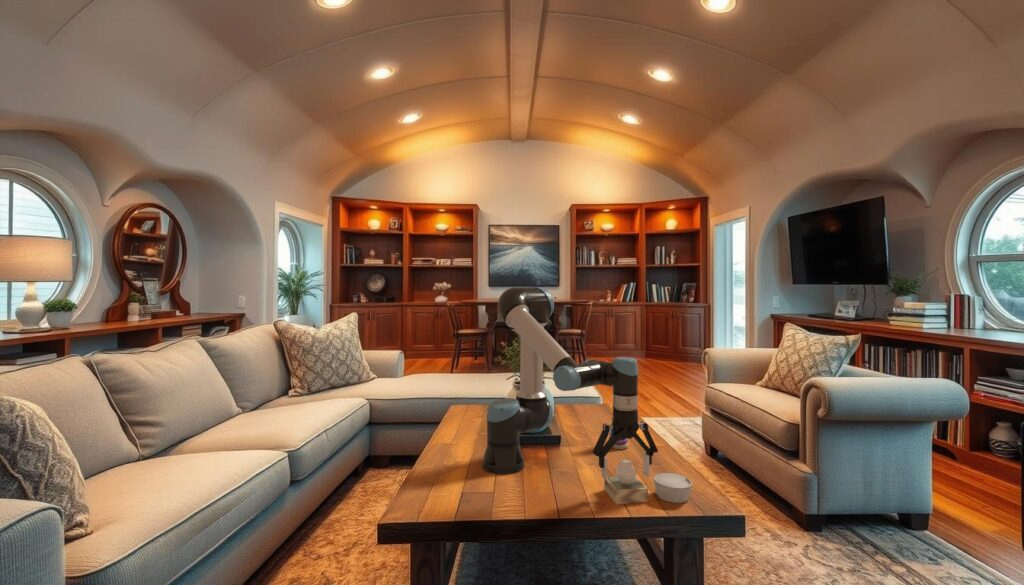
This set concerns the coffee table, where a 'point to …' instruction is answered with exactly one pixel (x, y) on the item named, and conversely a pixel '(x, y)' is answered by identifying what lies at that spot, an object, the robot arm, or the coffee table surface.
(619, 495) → the base block
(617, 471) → the small white vase
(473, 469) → the coffee table surface
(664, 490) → the ramekin
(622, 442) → the stacking toy
